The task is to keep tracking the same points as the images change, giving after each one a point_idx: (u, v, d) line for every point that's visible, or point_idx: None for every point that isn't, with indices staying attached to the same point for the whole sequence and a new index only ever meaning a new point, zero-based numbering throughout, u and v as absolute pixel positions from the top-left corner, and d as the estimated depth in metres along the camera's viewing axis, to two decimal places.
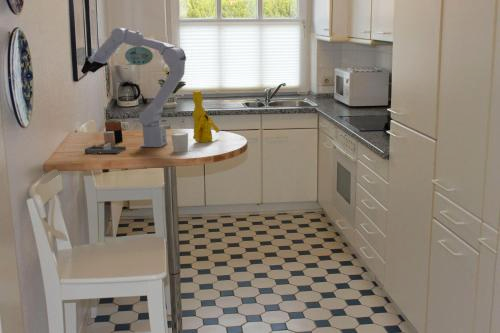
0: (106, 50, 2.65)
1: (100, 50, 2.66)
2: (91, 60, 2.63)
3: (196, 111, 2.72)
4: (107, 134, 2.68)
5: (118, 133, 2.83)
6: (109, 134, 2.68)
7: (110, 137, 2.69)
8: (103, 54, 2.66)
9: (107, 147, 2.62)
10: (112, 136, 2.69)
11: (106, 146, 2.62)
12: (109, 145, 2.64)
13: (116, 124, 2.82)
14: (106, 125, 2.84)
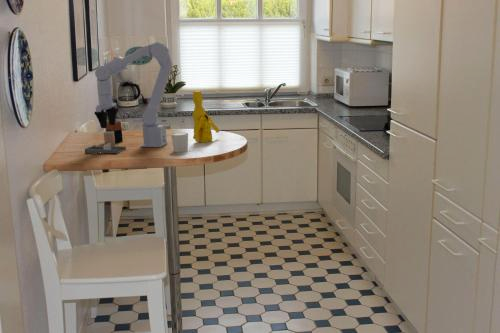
0: (106, 93, 2.64)
1: (100, 97, 2.65)
2: (98, 109, 2.61)
3: (196, 111, 2.72)
4: (107, 134, 2.68)
5: (118, 132, 2.83)
6: (109, 134, 2.68)
7: (110, 137, 2.69)
8: (104, 98, 2.64)
9: (107, 147, 2.62)
10: (112, 136, 2.69)
11: (106, 146, 2.62)
12: (109, 145, 2.64)
13: (116, 124, 2.82)
14: None
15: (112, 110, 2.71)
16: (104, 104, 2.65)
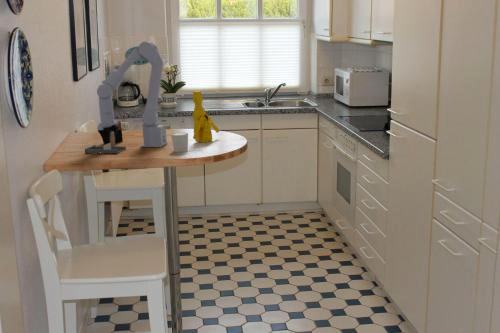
0: (107, 111, 2.65)
1: (102, 115, 2.66)
2: (100, 127, 2.62)
3: (196, 111, 2.72)
4: None
5: (118, 133, 2.83)
6: None
7: (110, 137, 2.69)
8: (106, 116, 2.66)
9: (107, 147, 2.62)
10: (112, 136, 2.69)
11: (106, 146, 2.62)
12: (109, 145, 2.64)
13: None
14: None
15: (112, 128, 2.72)
16: (106, 122, 2.66)
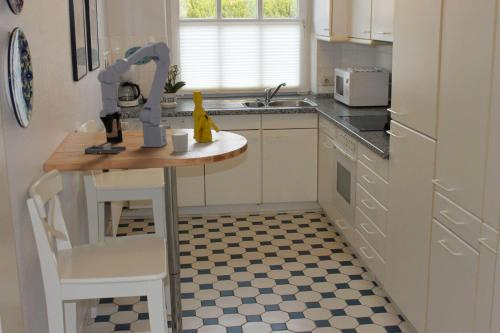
0: (113, 97, 2.56)
1: (104, 102, 2.56)
2: (102, 114, 2.52)
3: (196, 111, 2.72)
4: None
5: (118, 133, 2.83)
6: None
7: (112, 125, 2.58)
8: (108, 103, 2.55)
9: (107, 147, 2.62)
10: (114, 124, 2.59)
11: (106, 146, 2.62)
12: (109, 145, 2.64)
13: None
14: None
15: (115, 115, 2.61)
16: (108, 109, 2.56)
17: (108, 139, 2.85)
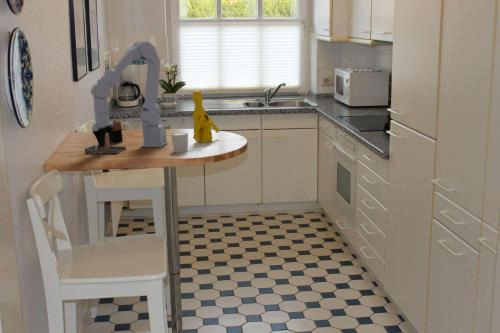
0: (105, 111, 2.58)
1: (96, 116, 2.58)
2: (95, 128, 2.54)
3: (196, 111, 2.73)
4: None
5: (118, 132, 2.83)
6: None
7: None
8: (101, 117, 2.58)
9: None
10: (106, 138, 2.61)
11: (98, 146, 2.62)
12: None
13: (116, 124, 2.82)
14: None
15: (107, 129, 2.63)
16: (101, 123, 2.58)
17: None
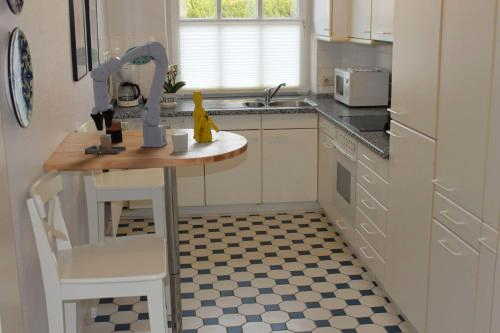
0: (104, 94, 2.58)
1: (96, 99, 2.58)
2: (94, 111, 2.54)
3: (196, 111, 2.72)
4: (103, 137, 2.60)
5: (118, 133, 2.83)
6: (105, 137, 2.60)
7: (106, 140, 2.60)
8: (100, 100, 2.58)
9: None
10: (108, 139, 2.61)
11: (100, 146, 2.62)
12: None
13: (116, 124, 2.82)
14: None
15: (108, 112, 2.65)
16: (100, 106, 2.58)
17: None
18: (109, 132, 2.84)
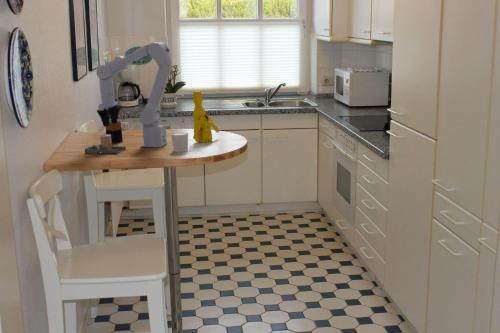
0: (106, 92, 2.68)
1: (102, 96, 2.69)
2: (101, 108, 2.65)
3: (196, 111, 2.72)
4: (103, 137, 2.60)
5: (118, 133, 2.83)
6: (105, 137, 2.60)
7: (106, 140, 2.60)
8: (107, 97, 2.68)
9: None
10: (109, 139, 2.61)
11: (100, 146, 2.62)
12: None
13: (116, 124, 2.82)
14: None
15: (114, 109, 2.75)
16: (106, 103, 2.69)
17: None
18: (109, 132, 2.84)
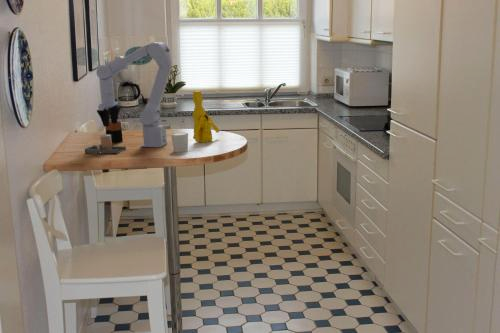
0: (106, 92, 2.68)
1: (102, 96, 2.69)
2: (101, 108, 2.65)
3: (196, 111, 2.72)
4: (103, 137, 2.60)
5: (118, 133, 2.83)
6: (106, 137, 2.60)
7: (107, 140, 2.60)
8: (107, 97, 2.68)
9: None
10: (109, 139, 2.61)
11: (100, 146, 2.62)
12: None
13: (116, 124, 2.82)
14: None
15: (114, 109, 2.75)
16: (106, 103, 2.69)
17: None
18: (109, 132, 2.84)
